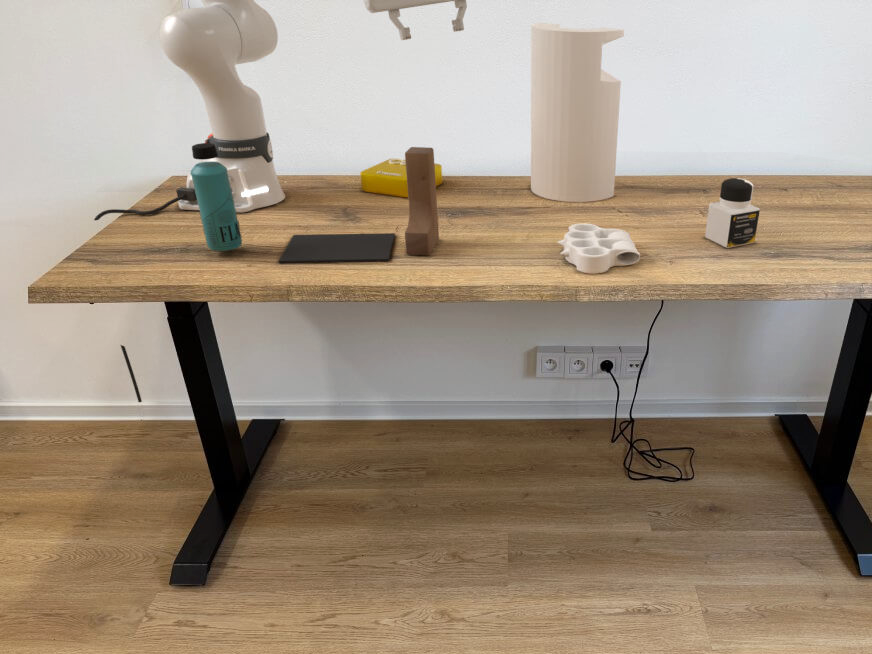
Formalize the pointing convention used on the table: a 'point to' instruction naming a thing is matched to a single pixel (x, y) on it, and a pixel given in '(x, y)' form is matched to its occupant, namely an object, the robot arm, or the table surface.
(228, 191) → the beverage bottle
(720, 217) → the medicine bottle
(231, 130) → the robot arm
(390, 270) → the table surface
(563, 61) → the beige notched cylinder
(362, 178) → the element tile
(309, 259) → the desk mat
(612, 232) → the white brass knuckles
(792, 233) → the table surface
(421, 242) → the wooden block
